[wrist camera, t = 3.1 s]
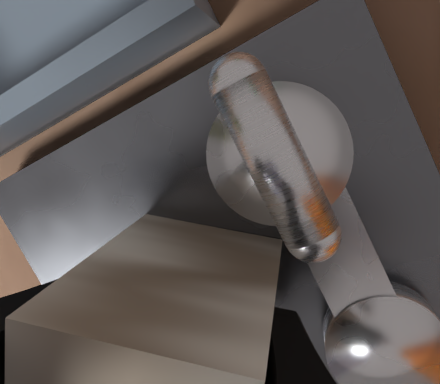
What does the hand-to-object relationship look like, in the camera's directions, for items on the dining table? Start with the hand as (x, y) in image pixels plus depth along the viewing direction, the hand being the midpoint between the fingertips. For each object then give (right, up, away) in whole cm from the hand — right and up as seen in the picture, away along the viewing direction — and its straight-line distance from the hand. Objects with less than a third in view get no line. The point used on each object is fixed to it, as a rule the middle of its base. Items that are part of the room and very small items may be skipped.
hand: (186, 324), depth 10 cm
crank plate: (+2, +1, +3) cm, 3 cm away
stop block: (0, 0, +2) cm, 2 cm away
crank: (+4, +2, +1) cm, 4 cm away
